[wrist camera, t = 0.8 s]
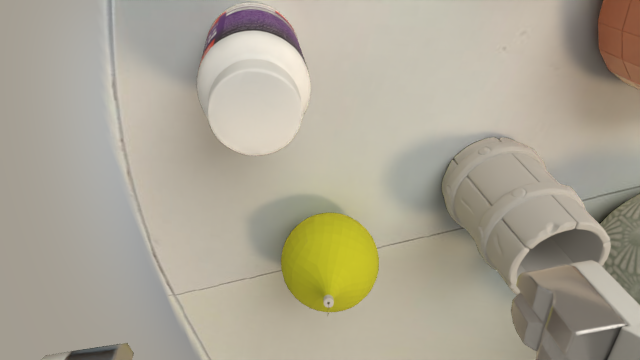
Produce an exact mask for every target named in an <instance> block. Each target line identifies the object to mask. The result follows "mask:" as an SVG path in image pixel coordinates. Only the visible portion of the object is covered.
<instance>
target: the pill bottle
mask: <svg viewBox="0 0 640 360" xmlns="http://www.w3.org/2000/svg"><path fill="white" fill-rule="evenodd" d="M197 93H198V98H199V101H200V104H201V106H202V109H203V111H204V113H205V114H206V116H207V117H208V121H209V125H210V127H211V129H212V131H213V133H214V135H215V136H216V137H217V138H218V140H219V141H220V142H221V143H222V144H224V145H225V146H226V147H228V148H229V149H231V150H233V151H235V152H238V153H241V154H244V155H251V156H261V155H266V154H271V153H274V152H276V151H278V150H280V149H282V148H283V147H285V146H286V145H287V144H288V143H290V142H291V140H292V139H293V138H294V137H295V135H296V134H297V132H298V130H299V128H300V125H301V121H302V117H303V115H304V114H305V112H306V110H307V107H308V104H309V101H310V95H311V83H310V77H309V73H308V68H307V66H306V63H305V60H304V57H303V54H302V51H301V49H300V46H299V42H298V39H297V37H296V34H295V32H294V30H293V28H292V26H291V25H290V23H289V22H288V20H287V19H286V18H285V17H284V16H283V15H282V14H281V13H280V12H278V11H277V10H275V9H274V8H272V7H270V6H267V5H264V4H260V3H253V2H249V3H241V4H237V5H234V6H232V7H230V8H228V9H227V10H225V11H224V12H223V13H222V14H220V15H219V17H218V18H217V19H216V20H215V21H214V23H213V25H212V27H211V29H210V31H209V33H208V37H207V40H206V44H205V48H204V51H203V55H202V59H201V63H200V66H199V70H198V75H197Z"/></svg>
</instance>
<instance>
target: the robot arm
mask: <svg viewBox="0 0 640 360" xmlns="http://www.w3.org/2000/svg"><path fill="white" fill-rule="evenodd" d="M516 286H517V287H518V289H519V290H520V293H519V294H518V295H517V296H516V297H515V298H514V299H513V302H512V308H511V314H512V319H513V324H514V326H515V329H516V331H517V333H518V335H519V337H520V338H521V340H522V342H523V343H524V344H525V345H527V346H528V347H530V348H532V349H533V350H535V351H537V352H536V360H640V305H639V304H638V303H637V302H636V301H635V300H634V299H633V298H632V297H631V296H630V295H629V294H628V293H627V292H626V291H625V290H624V289H623V287H622V286H621V285H620V284H619V283H618V282H617V281H616V280H615V279H614V278H613V277H612V276H611V275H610V274H609V273H608V272H607V271H606V270H605V269H604V268H603V267H602V266H601V265H600V264H599V263H597V262H595V261H593V260H589V261H583V262H577V263H572V264H567V265H566V264H564V265H558V266H553V267H548V268H543V269H537V270H532V271H527V272H522V273H521V274H520V275H519V276H518V279H517V283H516ZM133 354H134V353H133V351H132V350H131V348H130V346H129V345H128V343H124V344H117V345H110V346H103V347H96V348H90V349H83V350H77V351H71V352H64V353H58V354H52V355H46V356H44V357H43V358H42V360H132V358H133Z"/></svg>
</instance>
